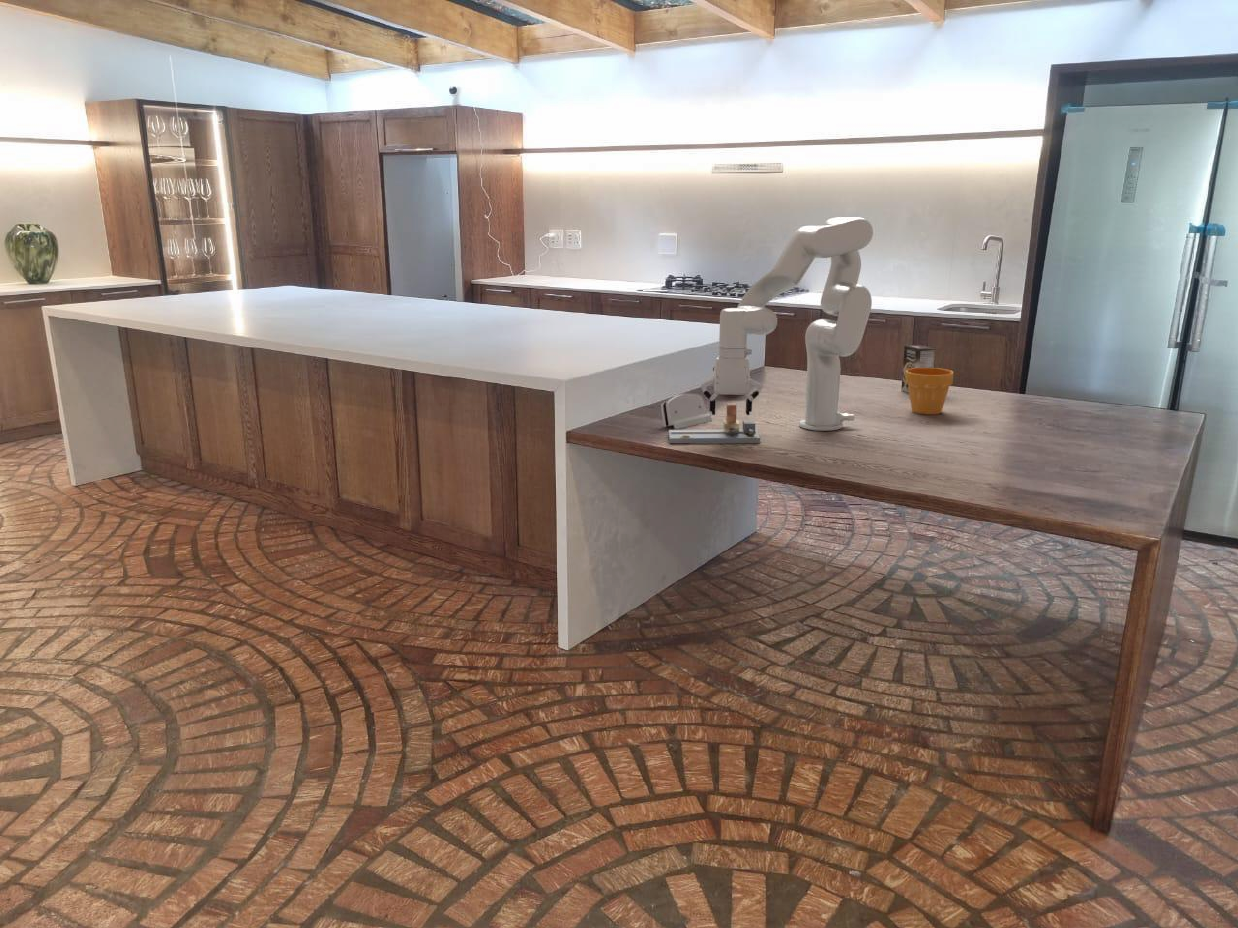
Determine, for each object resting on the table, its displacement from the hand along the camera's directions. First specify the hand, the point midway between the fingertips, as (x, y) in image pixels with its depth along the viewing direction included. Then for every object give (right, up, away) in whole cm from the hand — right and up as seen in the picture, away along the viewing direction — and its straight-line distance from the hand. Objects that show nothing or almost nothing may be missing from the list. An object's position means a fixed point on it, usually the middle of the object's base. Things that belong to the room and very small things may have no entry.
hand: (730, 414), depth 251 cm
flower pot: (+66, +2, +31) cm, 73 cm away
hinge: (-11, -2, +21) cm, 24 cm away
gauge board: (-5, -7, +1) cm, 8 cm away
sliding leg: (0, -5, 0) cm, 5 cm away
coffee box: (+73, +11, +61) cm, 96 cm away
